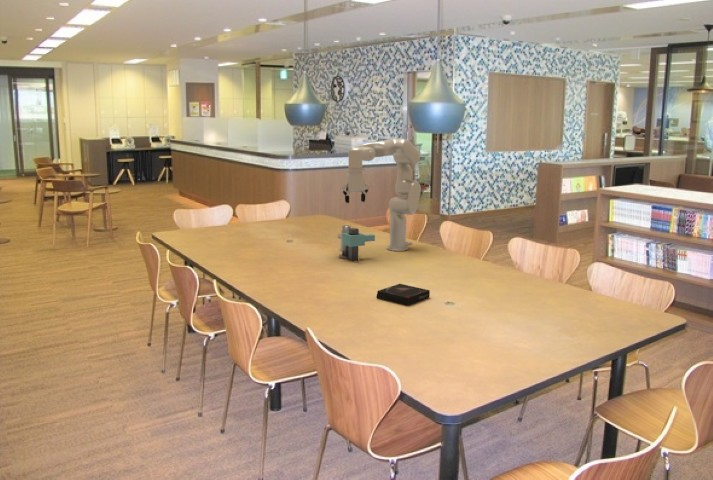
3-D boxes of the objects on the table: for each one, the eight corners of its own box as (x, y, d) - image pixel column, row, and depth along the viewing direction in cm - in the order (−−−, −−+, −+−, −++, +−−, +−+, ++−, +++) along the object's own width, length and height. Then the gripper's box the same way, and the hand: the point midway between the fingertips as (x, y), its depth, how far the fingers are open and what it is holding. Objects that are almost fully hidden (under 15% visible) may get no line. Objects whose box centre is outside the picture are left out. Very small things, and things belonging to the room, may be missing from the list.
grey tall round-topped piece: (350, 254, 361) (350, 223, 357) (358, 258, 352) (358, 226, 349) (334, 256, 356) (334, 225, 353) (342, 259, 348) (342, 228, 344)
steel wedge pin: (354, 259, 349) (355, 227, 346) (358, 260, 346) (358, 228, 342) (348, 260, 347) (348, 228, 344) (351, 261, 344) (352, 229, 340)
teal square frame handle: (369, 241, 355) (369, 230, 353) (377, 244, 347) (377, 233, 345) (342, 243, 347) (342, 233, 346) (349, 246, 339) (349, 236, 338)
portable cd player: (398, 291, 288) (398, 283, 288) (429, 298, 278) (429, 290, 277) (376, 299, 276) (376, 290, 275) (407, 307, 265) (408, 298, 265)
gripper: (366, 169, 346) (365, 200, 349) (338, 170, 338) (338, 202, 341) (372, 170, 339) (372, 202, 343) (344, 172, 331) (344, 204, 335)
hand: (355, 202), depth 342 cm, fingers open, 9 cm apart
